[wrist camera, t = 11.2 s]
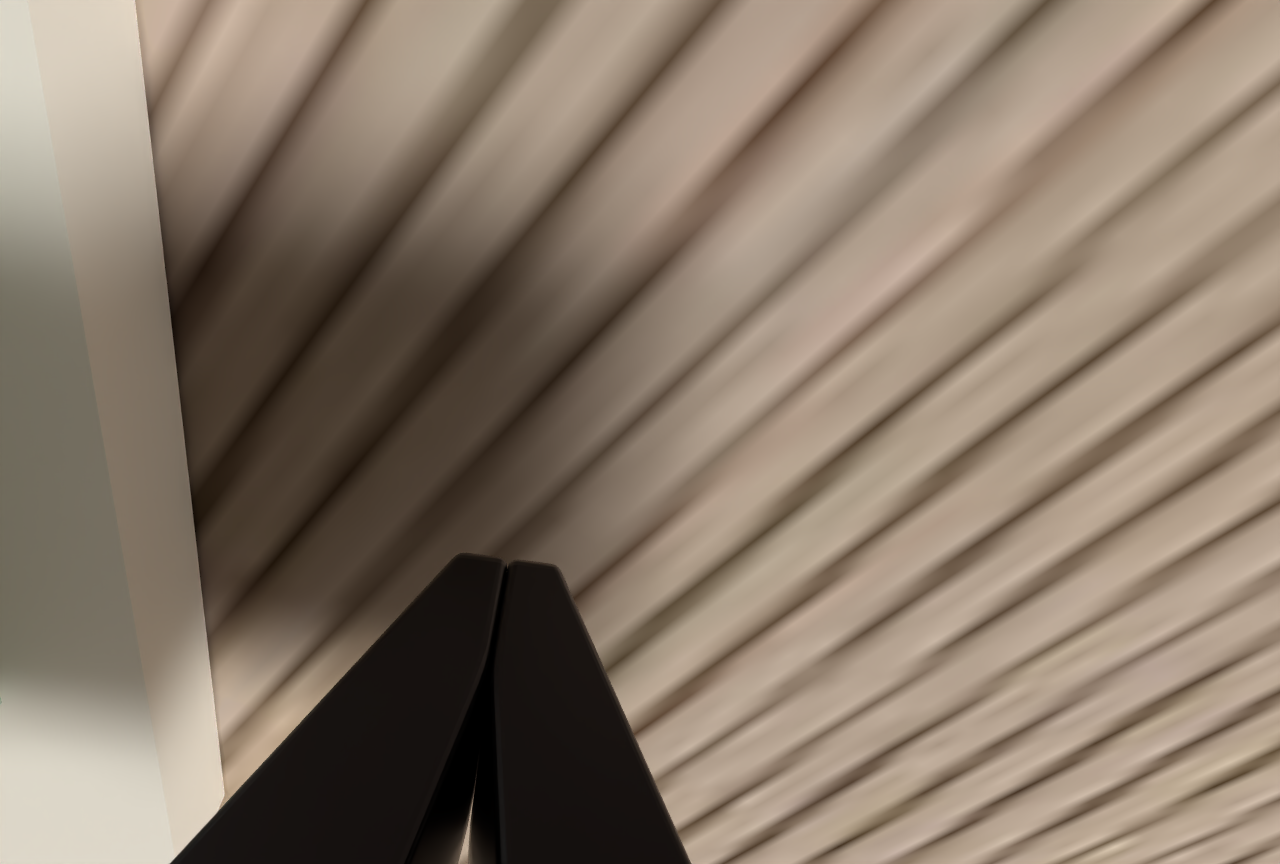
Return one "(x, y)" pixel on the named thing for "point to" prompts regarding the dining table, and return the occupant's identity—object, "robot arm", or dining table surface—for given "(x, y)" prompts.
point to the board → (92, 465)
